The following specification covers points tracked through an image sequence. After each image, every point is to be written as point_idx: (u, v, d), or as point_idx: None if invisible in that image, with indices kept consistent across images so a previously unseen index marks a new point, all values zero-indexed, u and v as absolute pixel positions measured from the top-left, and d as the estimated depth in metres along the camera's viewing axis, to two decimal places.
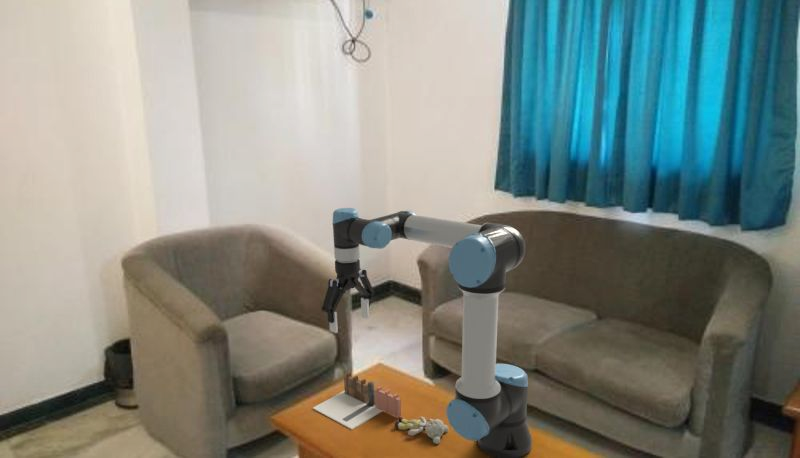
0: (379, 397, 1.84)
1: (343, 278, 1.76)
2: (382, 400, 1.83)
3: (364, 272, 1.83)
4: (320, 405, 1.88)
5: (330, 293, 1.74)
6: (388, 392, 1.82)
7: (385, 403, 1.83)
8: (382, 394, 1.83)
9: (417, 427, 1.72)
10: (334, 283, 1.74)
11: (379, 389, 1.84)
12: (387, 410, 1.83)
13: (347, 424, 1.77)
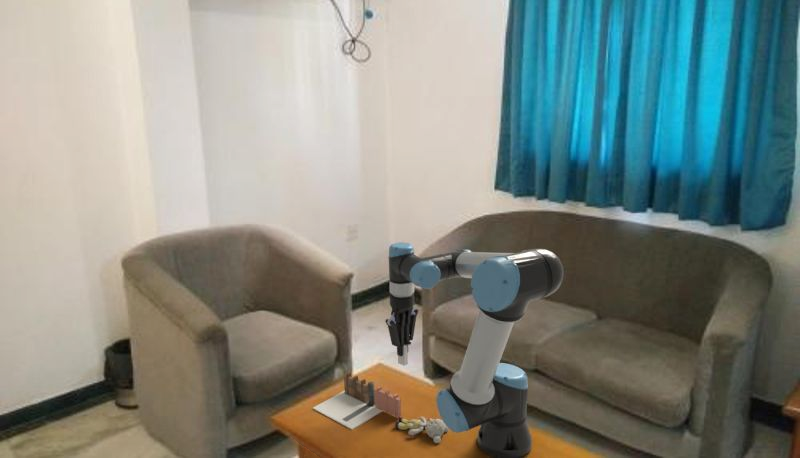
0: (379, 397, 1.84)
1: (397, 313, 1.77)
2: (382, 400, 1.83)
3: (416, 311, 1.84)
4: (320, 405, 1.88)
5: (392, 331, 1.78)
6: (388, 392, 1.82)
7: (385, 403, 1.83)
8: (382, 394, 1.83)
9: (417, 427, 1.72)
10: (392, 324, 1.76)
11: (379, 389, 1.84)
12: (387, 410, 1.83)
13: (347, 424, 1.77)
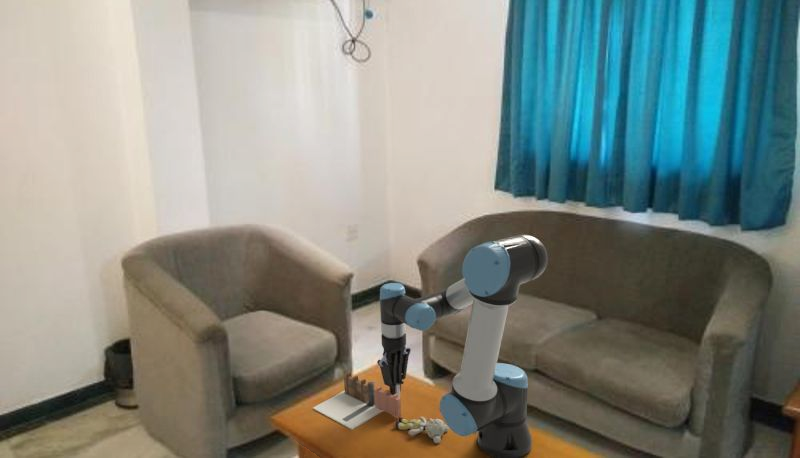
0: (379, 397, 1.84)
1: (389, 353, 1.77)
2: (382, 400, 1.83)
3: (408, 350, 1.84)
4: (320, 405, 1.88)
5: (385, 372, 1.78)
6: (388, 392, 1.82)
7: (385, 403, 1.83)
8: (382, 394, 1.83)
9: (417, 427, 1.72)
10: (383, 365, 1.76)
11: (379, 389, 1.84)
12: (387, 410, 1.83)
13: (347, 424, 1.77)
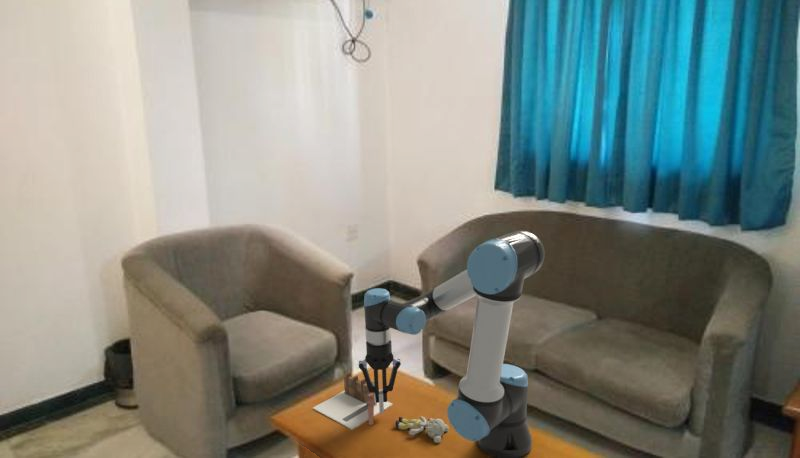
0: None
1: (368, 358, 1.75)
2: None
3: (397, 364, 1.76)
4: (320, 405, 1.88)
5: (364, 375, 1.77)
6: (371, 397, 1.79)
7: None
8: None
9: (418, 427, 1.73)
10: (360, 367, 1.75)
11: None
12: None
13: (347, 424, 1.77)
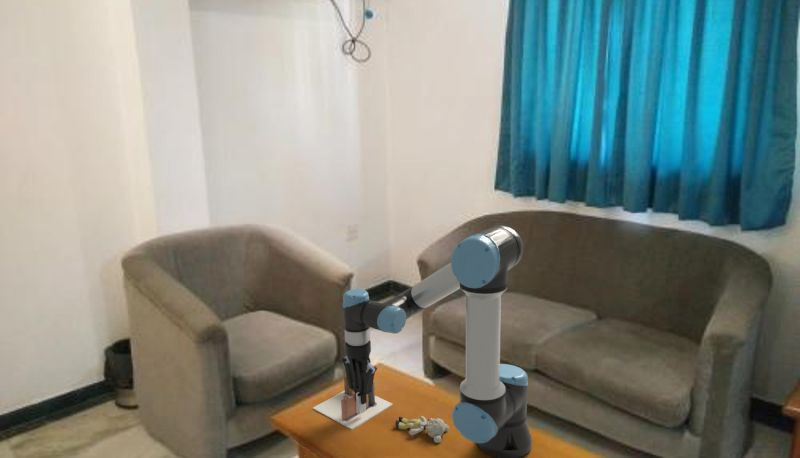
0: None
1: (348, 354, 1.77)
2: None
3: (369, 370, 1.72)
4: (320, 405, 1.88)
5: None
6: (353, 394, 1.81)
7: None
8: None
9: (418, 426, 1.73)
10: (342, 361, 1.80)
11: None
12: None
13: (347, 424, 1.77)
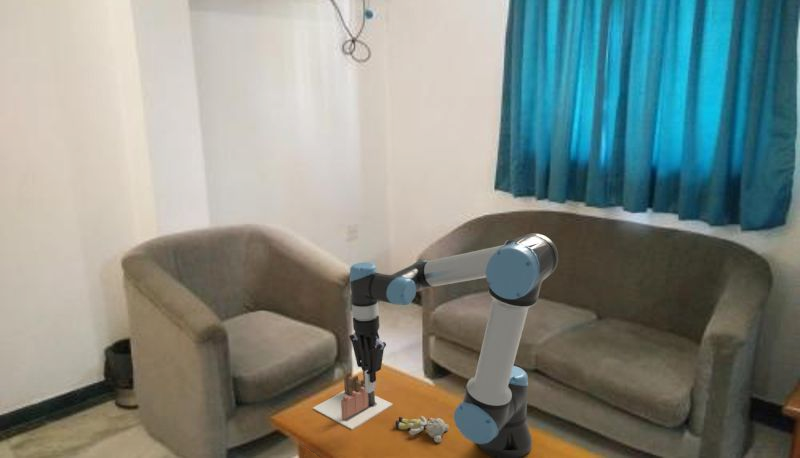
0: None
1: (356, 331, 1.72)
2: None
3: (378, 346, 1.67)
4: (320, 405, 1.88)
5: None
6: (353, 394, 1.81)
7: None
8: None
9: (418, 426, 1.73)
10: (350, 338, 1.74)
11: (361, 389, 1.84)
12: None
13: (347, 424, 1.77)
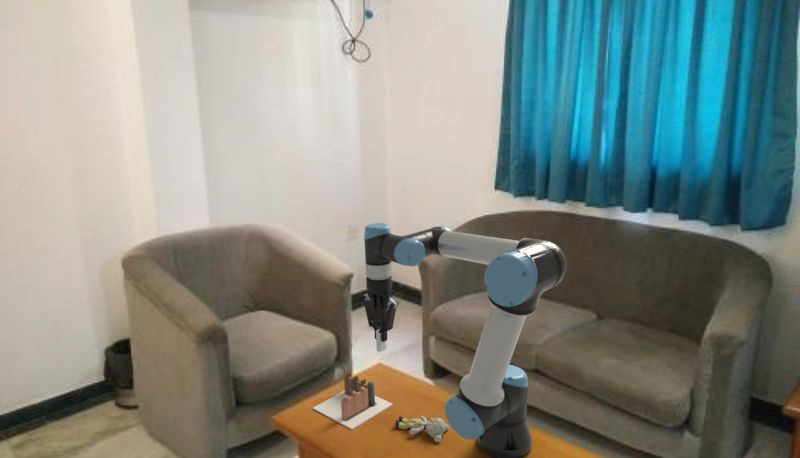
0: None
1: (368, 291, 1.75)
2: None
3: (391, 305, 1.70)
4: (320, 405, 1.88)
5: None
6: (353, 394, 1.81)
7: None
8: None
9: (418, 426, 1.73)
10: (362, 298, 1.77)
11: (361, 389, 1.84)
12: None
13: (347, 424, 1.77)
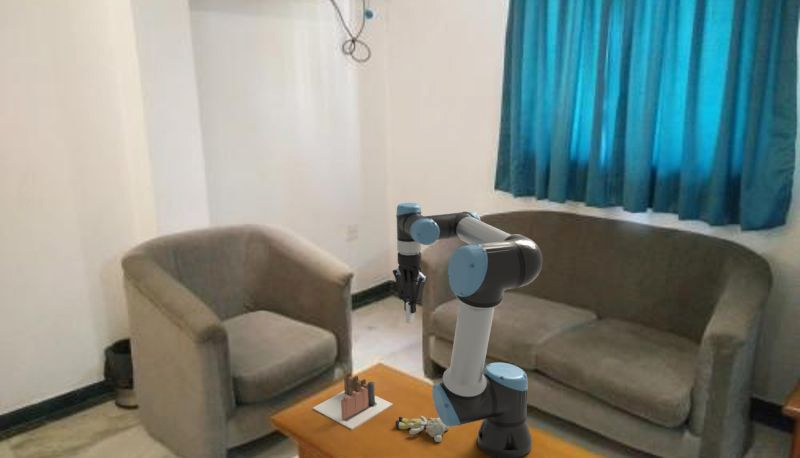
0: None
1: (399, 266, 1.89)
2: None
3: (420, 278, 1.83)
4: (320, 405, 1.88)
5: None
6: (353, 394, 1.81)
7: None
8: None
9: (418, 426, 1.73)
10: (393, 272, 1.91)
11: (361, 389, 1.84)
12: None
13: (347, 424, 1.77)
